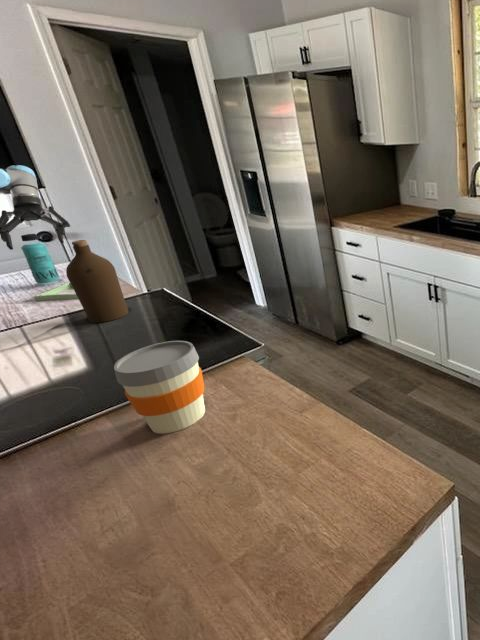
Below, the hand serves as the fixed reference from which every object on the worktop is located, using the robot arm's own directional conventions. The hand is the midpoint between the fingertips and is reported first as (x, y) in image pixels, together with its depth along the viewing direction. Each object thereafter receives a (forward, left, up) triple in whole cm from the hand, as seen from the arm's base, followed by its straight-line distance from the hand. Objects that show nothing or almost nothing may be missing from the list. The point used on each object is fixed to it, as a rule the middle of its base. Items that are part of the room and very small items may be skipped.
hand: (36, 244), depth 158 cm
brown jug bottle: (+50, -40, -15) cm, 66 cm away
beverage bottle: (+3, -4, -15) cm, 16 cm away
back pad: (+22, -17, -15) cm, 31 cm away
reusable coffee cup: (+104, -97, -15) cm, 143 cm away
